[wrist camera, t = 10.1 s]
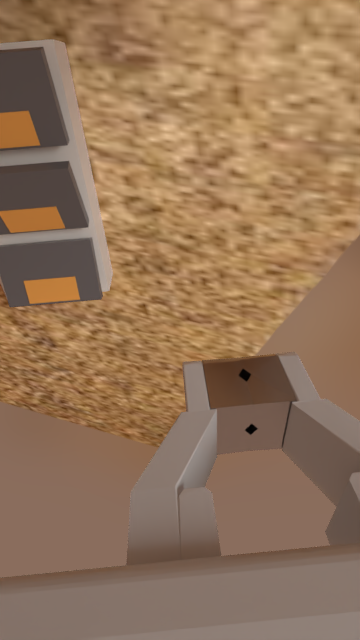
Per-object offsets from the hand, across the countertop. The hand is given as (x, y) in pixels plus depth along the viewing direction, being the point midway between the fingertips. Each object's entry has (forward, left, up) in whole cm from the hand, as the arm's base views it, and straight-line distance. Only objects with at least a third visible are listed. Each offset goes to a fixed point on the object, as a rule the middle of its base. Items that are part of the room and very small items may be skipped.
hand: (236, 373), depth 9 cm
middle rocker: (+1, -13, -24) cm, 27 cm away
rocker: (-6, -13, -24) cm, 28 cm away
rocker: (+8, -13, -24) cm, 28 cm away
